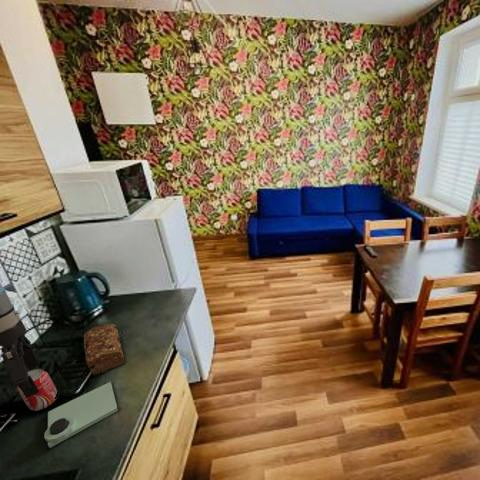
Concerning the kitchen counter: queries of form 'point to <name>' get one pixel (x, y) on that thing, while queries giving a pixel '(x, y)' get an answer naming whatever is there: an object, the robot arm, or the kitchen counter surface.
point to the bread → (103, 348)
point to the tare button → (59, 426)
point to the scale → (82, 413)
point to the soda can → (40, 391)
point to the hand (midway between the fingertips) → (33, 379)
